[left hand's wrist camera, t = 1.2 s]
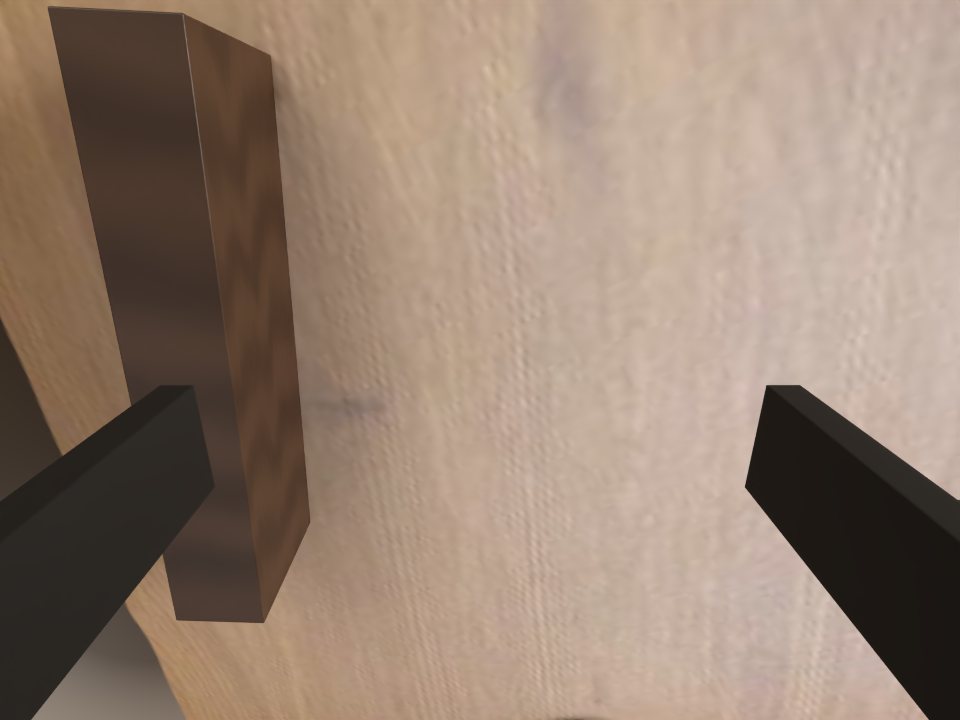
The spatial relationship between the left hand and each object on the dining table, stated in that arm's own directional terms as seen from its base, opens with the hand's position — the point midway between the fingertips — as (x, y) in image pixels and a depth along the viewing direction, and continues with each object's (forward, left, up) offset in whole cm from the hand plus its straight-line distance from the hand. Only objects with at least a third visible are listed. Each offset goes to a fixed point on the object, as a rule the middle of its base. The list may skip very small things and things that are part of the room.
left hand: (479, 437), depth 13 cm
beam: (+4, -14, -21) cm, 26 cm away
